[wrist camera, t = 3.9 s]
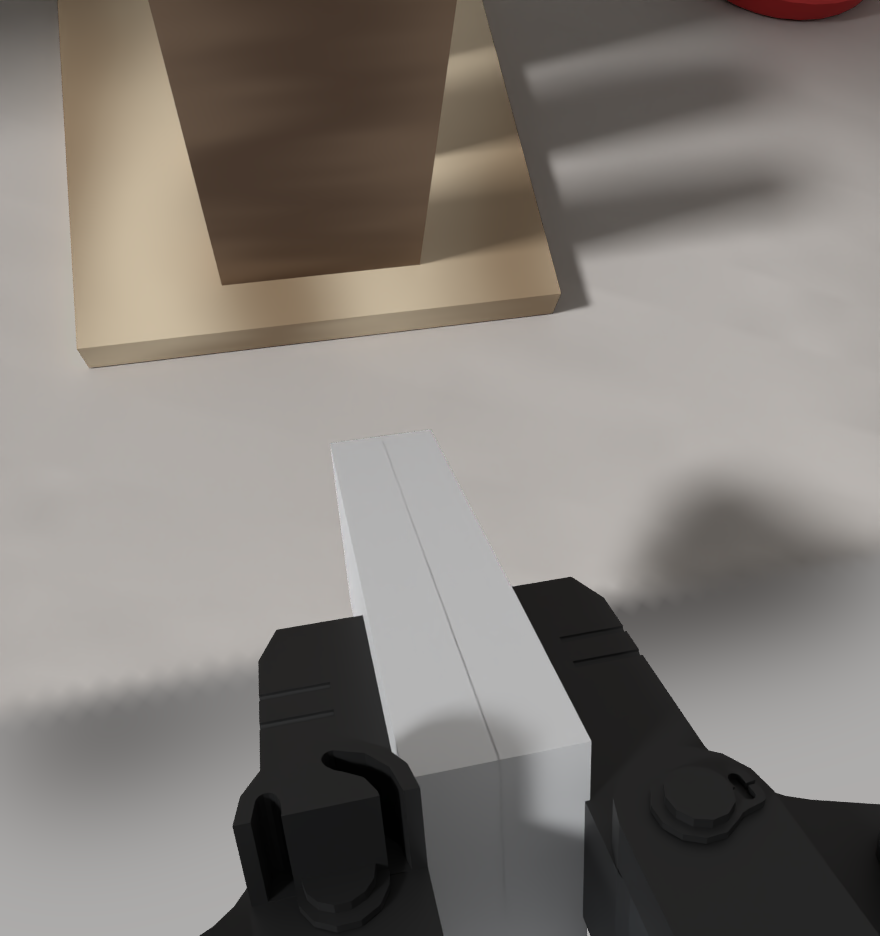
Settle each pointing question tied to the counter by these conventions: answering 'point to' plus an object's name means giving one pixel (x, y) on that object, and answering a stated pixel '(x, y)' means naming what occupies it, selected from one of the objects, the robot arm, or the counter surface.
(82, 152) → the board
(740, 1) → the canned food
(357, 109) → the domino
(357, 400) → the counter surface
